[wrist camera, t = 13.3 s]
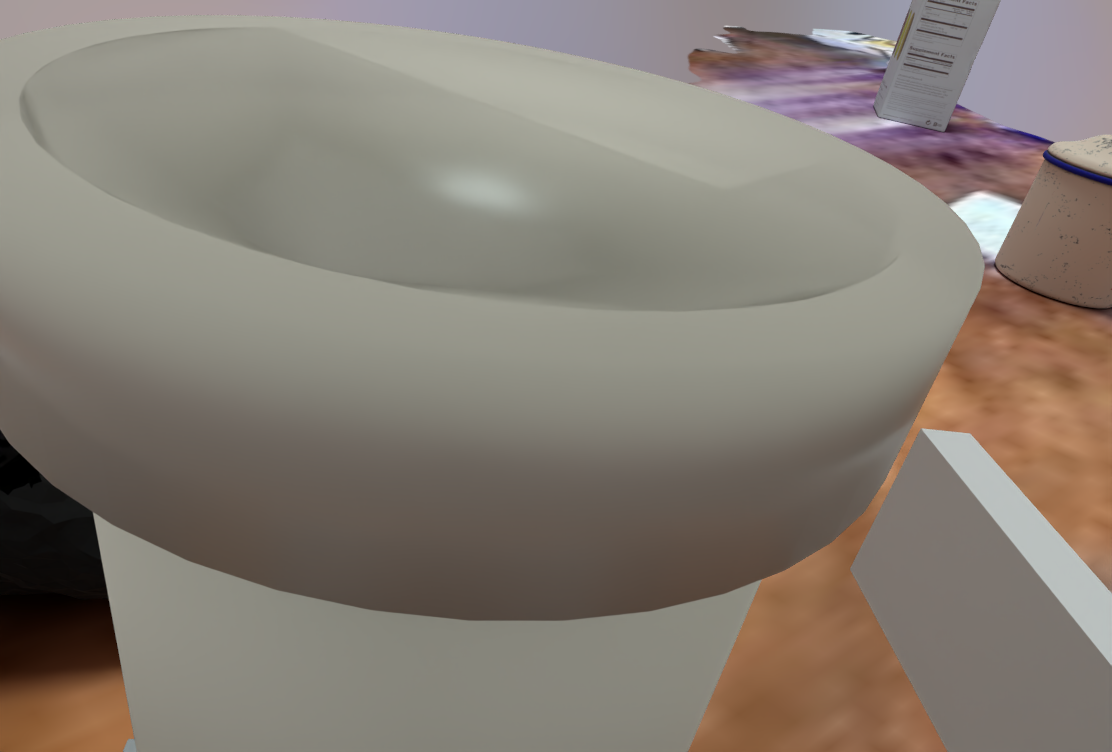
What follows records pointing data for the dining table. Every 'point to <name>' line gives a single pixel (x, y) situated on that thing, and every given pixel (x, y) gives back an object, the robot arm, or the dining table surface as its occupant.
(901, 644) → the robot arm
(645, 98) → the cream upright pillar
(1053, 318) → the dining table surface
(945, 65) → the supplement box
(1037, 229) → the teacup with lid
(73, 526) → the rock
